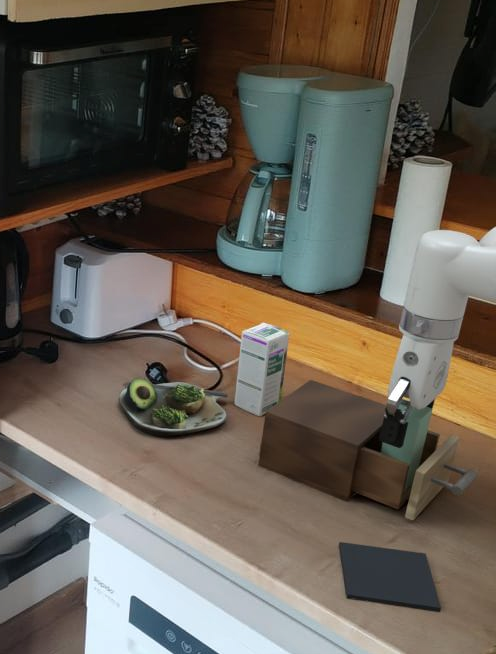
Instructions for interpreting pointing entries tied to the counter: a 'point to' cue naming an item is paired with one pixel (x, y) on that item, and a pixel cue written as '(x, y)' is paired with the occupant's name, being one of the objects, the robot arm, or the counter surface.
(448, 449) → the drawer
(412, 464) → the block
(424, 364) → the robot arm
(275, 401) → the syrup box
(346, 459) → the cabinet
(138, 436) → the counter surface
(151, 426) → the avocado toast plate
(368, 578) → the slate mat
